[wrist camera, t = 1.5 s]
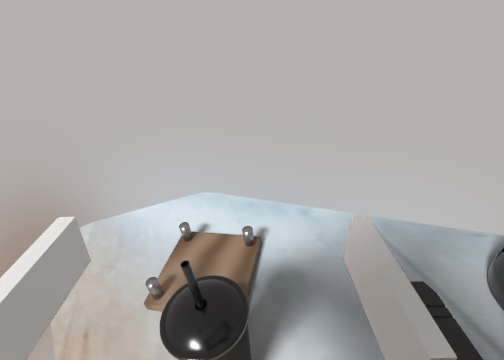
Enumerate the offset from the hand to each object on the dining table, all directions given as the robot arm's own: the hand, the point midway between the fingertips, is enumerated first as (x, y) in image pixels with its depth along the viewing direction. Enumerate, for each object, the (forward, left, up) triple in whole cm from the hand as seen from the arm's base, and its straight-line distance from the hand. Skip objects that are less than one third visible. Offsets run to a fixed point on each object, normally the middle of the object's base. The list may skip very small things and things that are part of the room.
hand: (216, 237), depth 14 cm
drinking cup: (+5, -3, -26) cm, 27 cm away
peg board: (+12, -16, -26) cm, 33 cm away
